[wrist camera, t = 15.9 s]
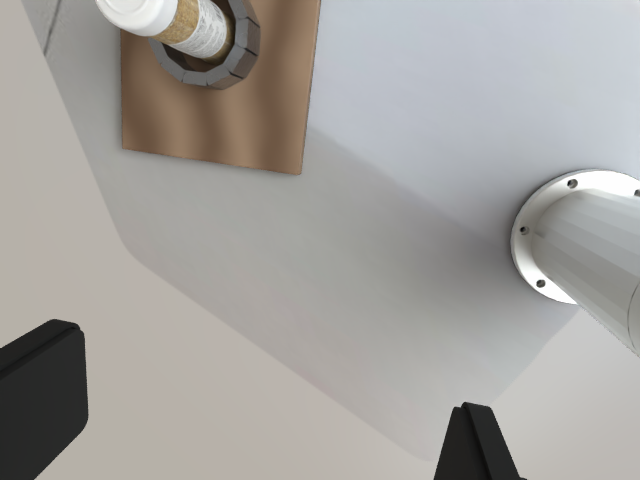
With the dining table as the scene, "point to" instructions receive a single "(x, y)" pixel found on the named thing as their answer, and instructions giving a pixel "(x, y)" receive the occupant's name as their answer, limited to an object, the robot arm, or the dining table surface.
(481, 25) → the dining table surface
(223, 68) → the collar
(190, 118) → the socket board
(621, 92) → the dining table surface
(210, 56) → the sprinkles bottle
